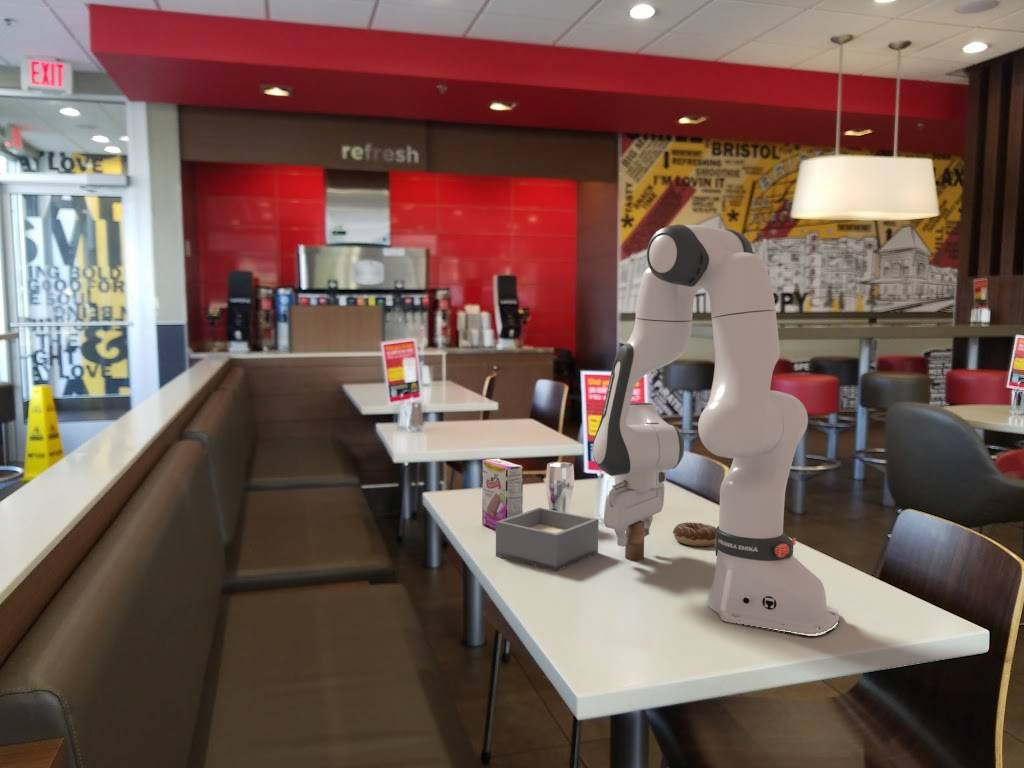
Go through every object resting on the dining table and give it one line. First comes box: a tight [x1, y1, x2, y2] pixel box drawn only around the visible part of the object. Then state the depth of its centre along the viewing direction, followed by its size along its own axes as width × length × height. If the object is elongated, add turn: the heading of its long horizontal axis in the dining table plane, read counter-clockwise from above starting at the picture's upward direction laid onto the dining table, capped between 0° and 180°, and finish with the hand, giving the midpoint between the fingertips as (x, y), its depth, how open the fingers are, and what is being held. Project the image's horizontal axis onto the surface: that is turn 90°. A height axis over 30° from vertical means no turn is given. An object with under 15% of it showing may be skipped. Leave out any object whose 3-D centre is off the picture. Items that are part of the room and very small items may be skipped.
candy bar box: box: [481, 458, 524, 531], centre depth 193 cm, size 11×5×16 cm, turn 34°
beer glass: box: [545, 461, 575, 514], centre depth 198 cm, size 7×7×15 cm
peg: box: [624, 520, 645, 562], centre depth 172 cm, size 4×4×8 cm
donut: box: [672, 521, 717, 547], centre depth 185 cm, size 11×11×4 cm
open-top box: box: [495, 507, 600, 572], centre depth 174 cm, size 16×16×8 cm
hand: (633, 540), depth 172 cm, fingers open, 8 cm apart
